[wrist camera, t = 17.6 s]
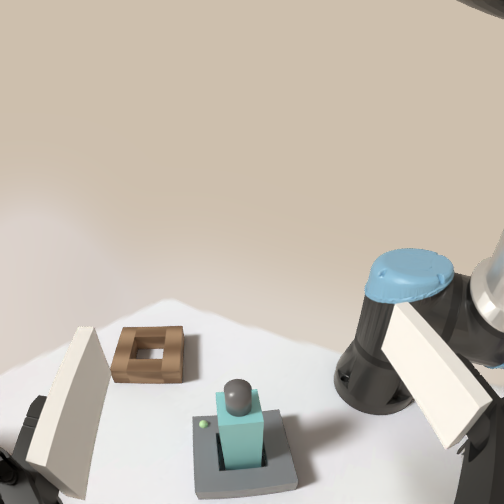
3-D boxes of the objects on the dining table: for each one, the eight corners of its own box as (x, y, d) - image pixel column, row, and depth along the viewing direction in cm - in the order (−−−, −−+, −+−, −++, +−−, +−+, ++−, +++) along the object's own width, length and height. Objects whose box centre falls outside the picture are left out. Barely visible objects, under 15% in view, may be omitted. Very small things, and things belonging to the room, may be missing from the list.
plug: (223, 447, 35) (213, 374, 28) (255, 444, 35) (257, 370, 29) (226, 474, 31) (215, 408, 24) (260, 471, 31) (264, 404, 25)
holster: (126, 338, 55) (122, 327, 54) (184, 337, 57) (182, 325, 55) (114, 382, 44) (109, 370, 43) (182, 383, 46) (179, 371, 44)
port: (195, 427, 38) (191, 413, 36) (277, 420, 39) (279, 406, 38) (198, 499, 27) (194, 490, 25) (295, 489, 28) (299, 480, 27)
